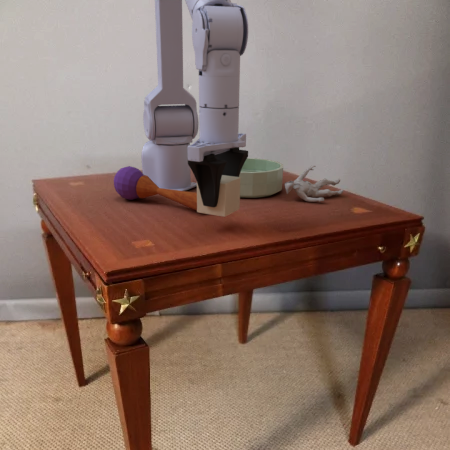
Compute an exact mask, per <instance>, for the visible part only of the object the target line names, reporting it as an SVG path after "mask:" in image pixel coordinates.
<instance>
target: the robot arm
mask: <svg viewBox="0 0 450 450" xmlns="http://www.w3.org/2000/svg"><path fill="white" fill-rule="evenodd" d="M184 1H185V4H186V7H187V9H188V12H189V15H190V18H191V20H192V22H191V39H192V46H193V51H194V66H195V70H198V108H197V100H196V98H195V97H194V95H193V94H192V93H190V92H189V91H188V90H187V89H186V88H185V87H184V40H183V39H184V38H183V35H184V33H183V32H184V31H183V0H154V16H155V17H154V18H155V43H156V65H157V66H156V67H157V85H156V87H154V88H153V89H152V90H151V91H150V92H149V93H148V94H146V96H145V97H144V100H143V116H142V117H143V118H142V121H143V129H144V134H145V136H146V138H147V139H148V140H147V141H146V142H145V143H144V145H143V146H142V150H141V155H140V156H141V170H142V171H141V172H142V173H143V175H146V176H148V177H149V178H150V179H151V180H152V181H153V182H154V183H155V184H156V185H157V186H158V187H159V188H163V189H171V190H179V191H189V190H191V189H194V188H197V184H198V187H199V190H200V194H201V198H202V202H203V205H204V206H208V207H217V203H218V198H219V189H220V182H221V177H222V175H226V176H234V177H239V175H240V172H241V169H242V167H243V165H244V163H245V161H246V159H247V158H249V150H246V149H240V148H245V147H247V133H242V132H239V125H240V124H239V123H240V87H241V86H240V83H241V81H240V80H241V56H243V55H244V53H245V51H246V49H247V45H248V41H249V20H248V15H247V11H246V8H245V7H244V5H242V4H237V2H232V1H231V0H184ZM198 133H199V135H198ZM196 136H199V138H198V139H197V140H195V141H193V140H194V139H195V138H196ZM191 143H192V144H191ZM191 172H192V174H193V176H194V178H195V181H196V182H195V181H194V182H193V181H192V176H191Z"/></svg>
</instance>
